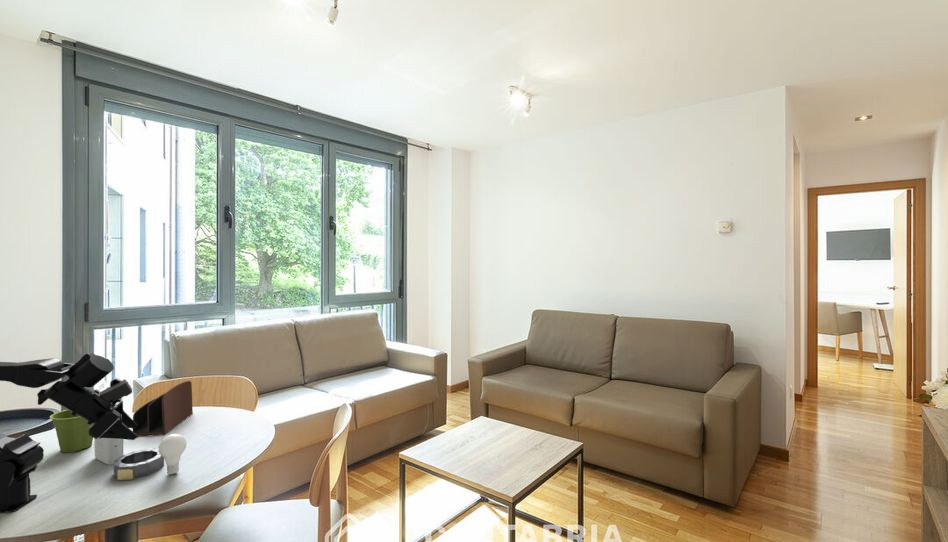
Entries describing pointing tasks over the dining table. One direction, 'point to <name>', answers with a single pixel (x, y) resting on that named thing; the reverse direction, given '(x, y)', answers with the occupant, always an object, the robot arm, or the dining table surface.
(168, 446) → the lightbulb
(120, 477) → the roll of grey tape
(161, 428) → the letter holder
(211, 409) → the dining table surface
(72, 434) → the plant pot
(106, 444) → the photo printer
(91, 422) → the robot arm
